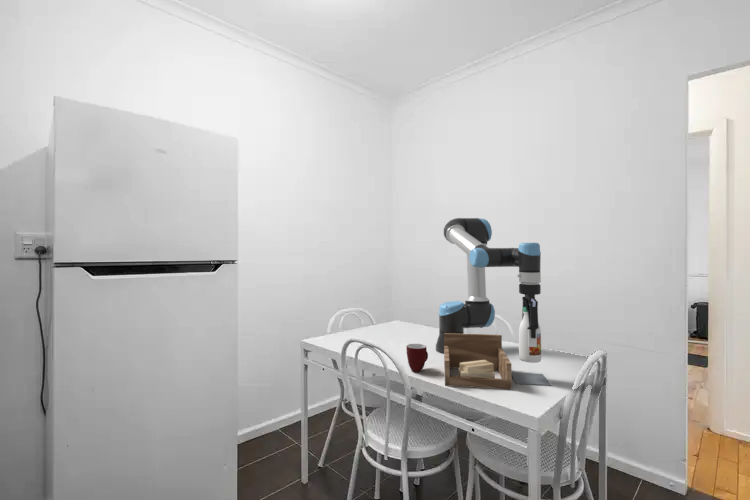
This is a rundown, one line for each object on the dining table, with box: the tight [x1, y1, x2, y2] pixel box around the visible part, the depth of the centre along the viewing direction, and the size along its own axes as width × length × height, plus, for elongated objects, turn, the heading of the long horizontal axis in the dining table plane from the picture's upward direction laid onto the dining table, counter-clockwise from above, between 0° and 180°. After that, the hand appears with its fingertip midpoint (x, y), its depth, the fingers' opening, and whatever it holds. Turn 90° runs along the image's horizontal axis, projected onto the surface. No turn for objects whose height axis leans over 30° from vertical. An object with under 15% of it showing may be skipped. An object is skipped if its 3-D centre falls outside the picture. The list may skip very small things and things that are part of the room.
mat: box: [511, 371, 552, 387], centre depth 142 cm, size 12×12×1 cm
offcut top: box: [460, 360, 495, 374], centre depth 139 cm, size 6×11×2 cm, turn 109°
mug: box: [406, 343, 429, 373], centre depth 154 cm, size 10×8×10 cm
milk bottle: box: [518, 306, 542, 364], centre depth 142 cm, size 8×8×20 cm
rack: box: [443, 333, 513, 390], centre depth 145 cm, size 23×23×14 cm
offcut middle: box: [458, 368, 496, 378], centre depth 139 cm, size 6×12×2 cm, turn 89°
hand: (530, 343), depth 142 cm, fingers closed on milk bottle, 7 cm apart
